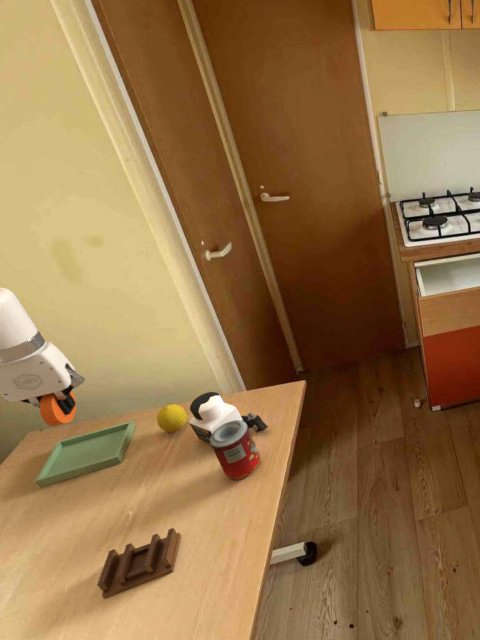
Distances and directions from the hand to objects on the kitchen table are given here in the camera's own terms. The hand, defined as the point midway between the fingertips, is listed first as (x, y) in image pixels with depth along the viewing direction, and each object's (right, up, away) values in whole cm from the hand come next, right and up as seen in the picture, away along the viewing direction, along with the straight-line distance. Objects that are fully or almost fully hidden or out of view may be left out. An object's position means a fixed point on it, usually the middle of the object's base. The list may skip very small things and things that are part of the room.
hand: (62, 411), depth 92 cm
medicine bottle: (+27, -10, +12) cm, 31 cm away
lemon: (+15, -9, +13) cm, 22 cm away
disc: (0, +1, -1) cm, 2 cm away
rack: (+31, -23, -14) cm, 41 cm away
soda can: (+38, -14, +4) cm, 41 cm away
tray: (0, -13, +6) cm, 14 cm away
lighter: (+34, -10, +13) cm, 38 cm away
